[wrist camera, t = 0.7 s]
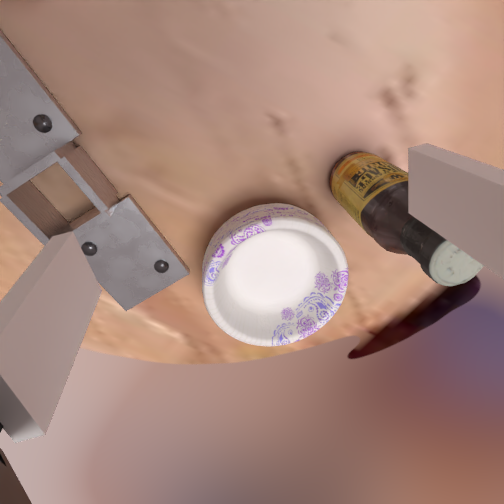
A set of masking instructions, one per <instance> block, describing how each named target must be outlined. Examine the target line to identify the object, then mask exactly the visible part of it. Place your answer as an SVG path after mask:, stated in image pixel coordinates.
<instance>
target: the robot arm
mask: <svg viewBox="0 0 504 504" xmlns="http://www.w3.org/2000/svg"><path fill="white" fill-rule="evenodd" d="M408 213H409V214H411V215H412V216H413V217H415V218H416V219H418V220H419V221H421V222H422V223H423V224H425V225H426V226H428V227H429V228H431V229H432V230H434V231H435V232H436V233H438V234H439V235H441V236H442V237H444V238H445V239H446V240H448V241H449V242H451V243H452V244H454V245H455V246H456V247H458V248H459V249H461V250H462V251H464V252H465V253H466V254H468V255H469V256H471V257H472V258H474V259H475V260H476V261H478V262H479V263H481V264H482V265H484V266H485V267H486V268H488V269H489V270H491V271H492V272H494V273H495V274H497V275H498V276H499V277H501V278H502V279H504V170H503V169H500V168H497V167H494V166H491V165H488V164H486V163H483V162H480V161H477V160H474V159H471V158H468V157H465V156H462V155H460V154H457V153H454V152H451V151H448V150H445V149H442V148H439V147H437V146H434V145H431V144H428V143H427V144H423V145H419V146H415V147H411V148H408ZM101 292H102V290H101V288H100V286H99V284H98V282H97V280H96V278H95V276H94V274H93V271H92V269H91V267H90V265H89V263H88V261H87V259H86V257H85V255H84V253H83V251H82V249H81V247H80V245H79V243H78V241H77V239H76V237H75V235H74V233H73V231H72V232H68V233H64V234H60V235H56V236H52V238H51V239H50V240H49V241H48V243H47V244H46V245H45V246H44V248H43V249H42V250H41V251H40V253H39V254H38V255H37V256H36V258H35V259H34V260H33V262H32V263H31V264H30V265H29V267H28V268H27V269H26V270H25V272H24V273H23V274H22V275H21V277H20V278H19V279H18V280H17V282H16V283H15V284H14V285H13V287H12V288H11V289H10V290H9V292H8V293H7V294H6V295H5V297H4V298H3V299H2V300H1V302H0V432H1V430H2V428H3V429H4V430H5V431H6V432H7V434H8V435H9V436H10V437H11V438H12V440H13V441H14V442H15V443H17V442H21V441H24V440H28V439H32V438H36V437H39V436H43V435H46V432H47V429H48V427H49V424H50V422H51V419H52V417H53V414H54V411H55V409H56V407H57V404H58V401H59V399H60V396H61V394H62V391H63V389H64V386H65V384H66V381H67V379H68V376H69V373H70V371H71V368H72V366H73V363H74V361H75V357H76V355H77V353H78V350H79V348H80V345H81V343H82V340H83V338H84V335H85V333H86V330H87V328H88V325H89V322H90V320H91V317H92V315H93V312H94V310H95V307H96V305H97V302H98V300H99V297H100V294H101ZM0 504H32V503H31V501H30V500H29V498H28V496H27V494H26V492H25V490H24V489H23V487H22V485H21V483H20V481H19V480H18V478H17V476H16V474H15V472H14V471H13V469H12V467H11V465H10V463H9V461H8V460H7V458H6V456H5V454H4V452H3V451H2V450H1V449H0Z"/></svg>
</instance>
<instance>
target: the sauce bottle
mask: <svg viewBox="0 0 504 504" xmlns="http://www.w3.org/2000/svg"><path fill="white" fill-rule="evenodd" d="M330 187H331V190H332V192H333V195H334V197H335V199H336V200H337V201H338V202H339V203H340V205H341V206H342V207H343V208H344V209H345V210H346V211H347V212H348V213H349V214H350V215H351V217H352V218H353V219H354V220H355V221H356V222H357V223H358V224H359V225H360V226H361V227H362V228H363V229H364V230H365V231H366V233H367V234H368V235H370V236H371V237H373V238H374V240H375V241H376V242H377V243H378V244H379V245H380V246H381V247H383V248H384V249H386V250H387V251H390V252H394V253H397V254H408V255H409V256H412V257H413V258H414V259H416V260H417V261H418V262H419V263H420V264H421V268H422V269H423V271H424V272H425V273H426V274H427V275H428V276H429V277H430V278H431V279H432V280H434V281H435V282H436V283H439V284H441V285H445V286H454V285H458V284H461V283H465V282H467V281H468V280H470V279H472V278H473V277H474V276H475V275H476V274H477V273H478V272H479V271H480V270H481V269H482V267H483V266H484V265H482V264H481V263H479V262H478V261H476V260H475V259H474V258H472V257H471V256H469V255H468V254H466V253H465V252H464V251H462V250H461V249H459V248H458V247H456V246H455V245H454V244H452V243H451V242H449V241H448V240H446V239H445V238H444V237H442V236H441V235H439V234H438V233H436V232H435V231H434V230H432V229H431V228H429V227H428V226H426V225H425V224H423V223H422V222H421V221H419V220H418V219H416V218H415V217H413V216H412V215H411V214H409V213H408V173H407V172H405V171H403V170H401V169H400V168H398V167H396V166H394V165H392V164H391V163H389V162H387V161H385V160H383V159H382V158H380V157H378V156H376V155H374V154H371V153H364V152H353V153H351V154H348V155H347V156H345V157H344V158H342V159H341V160H340V161H339V162H337V163H336V165H335V167H334V168H333V171H332V174H331V178H330Z"/></svg>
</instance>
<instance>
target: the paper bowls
mask: <svg viewBox="0 0 504 504" xmlns="http://www.w3.org/2000/svg"><path fill="white" fill-rule="evenodd" d="M347 284H348V264H347V260H346V257H345V254H344V251H343V249H342V248H341V246H340V244H339V243H338V242H337V240H336V239H335V238H334V237H333V236H332V235H331V233H330V232H329V230H328V229H327V228H326V227H325V226H324V225H323V224H322V223H321V222H320V221H319V220H318V219H317V218H316V217H314V216H313V215H312V214H310V213H309V212H307V211H305V210H303V209H301V208H299V207H296V206H294V205H290V204H282V203H271V204H264V205H258V206H254V207H252V208H248V209H247V210H243V211H241V212H240V213H237V214H236V215H234V216H233V217H231V218H230V219H229V220H227V221H226V222H225V223H224V224H223V225H222V226H221V227H220V228H219V229H218V230H217V232H216V233H215V234H214V236H213V237H212V238H211V241H210V242H209V245H208V247H207V249H206V252H205V255H204V259H203V265H202V292H203V298H204V303H205V306H206V309H207V311H208V313H209V315H210V316H211V318H212V319H213V320H214V322H215V323H216V324H217V326H219V327H220V328H221V329H222V330H223V331H224V332H225V333H227V334H228V335H230V336H231V337H233V338H235V339H237V340H239V341H242V342H245V343H248V344H252V345H258V346H280V345H285V344H290V343H293V342H296V341H299V340H301V339H304V338H306V337H308V336H310V335H311V334H313V333H314V332H316V331H317V330H319V329H320V328H321V327H323V326H324V325H325V324H326V323H327V322H328V321H329V320H330V319H331V318H332V317H333V315H334V314H335V313H336V311H337V310H338V308H339V307H340V305H341V303H342V301H343V298H344V296H345V293H346V289H347Z"/></svg>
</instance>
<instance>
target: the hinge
mask: <svg viewBox="0 0 504 504" xmlns="http://www.w3.org/2000/svg"><path fill="white" fill-rule="evenodd" d="M80 134H82V133H81V131H80V130H79V129H78V128H77V126H76V125H75V124H74V123H73V121H72V120H71V119H70V118H69V116H68V115H67V114H66V112H65V111H64V110H63V109H62V107H61V106H60V105H59V104H58V102H57V101H56V100H55V98H54V97H53V96H52V95H51V93H50V92H49V91H48V90H47V88H46V87H45V86H44V85H43V83H42V82H41V81H40V79H39V78H38V77H37V76H36V74H35V73H34V72H33V71H32V69H31V68H30V67H29V66H28V64H27V63H26V62H25V60H24V59H23V58H22V57H21V55H20V54H19V53H18V52H17V50H16V49H15V48H14V46H13V45H12V44H11V43H10V41H9V40H8V39H7V38H6V36H5V35H4V34H3V33H2V31H1V30H0V181H1V182H2V183H3V184H4V185H2V186H1V187H0V195H1V196H2V198H1V199H0V201H1V202H2V203H3V204H4V205H5V206H6V207H7V208H8V209H9V210H10V211H11V212H12V213H13V214H14V215H15V216H16V217H17V218H18V219H19V220H20V221H21V222H22V223H23V225H24V226H25V227H26V228H27V229H28V230H29V231H30V232H31V233H32V234H33V235H34V236H35V237H36V238H37V239H38V240H39V241H40V242H41V243H42V244H43V245H44V246H45V245H46V244H47V243H48V241H49V240H50V239H51V238H52V236H56V235H60V234H64V233H68V232H72V231H73V233H74V235H75V237H76V239H77V241H78V243H79V245H80V247H81V249H82V251H83V253H84V255H85V257H86V259H87V261H88V263H89V265H90V267H91V269H92V271H93V274H94V276H95V278H96V280H97V281H98V283H99V284H100V285H101V286H102V287H103V288H104V289H105V290H106V291H107V292H108V293H109V294H110V295H111V296H112V297H113V298H114V299H115V300H116V301H117V302H118V303H119V304H120V305H121V306H122V307H123V308H124V310H125V311H127V310H129V309H130V308H132V307H134V306H135V305H137V304H139V303H141V302H142V301H144V300H146V299H147V298H149V297H151V296H152V295H154V294H156V293H158V292H159V291H161V290H163V289H164V288H166V287H168V286H169V285H171V284H173V283H175V282H176V281H178V280H180V279H181V278H183V277H185V276H186V275H188V274H189V268H188V267H187V266H186V265H185V263H184V262H183V261H182V260H181V258H180V257H179V256H178V254H177V253H176V252H175V251H174V249H173V248H172V247H171V246H170V244H169V243H168V242H167V241H166V239H165V238H164V237H163V235H162V234H161V233H160V232H159V230H158V229H157V228H156V227H155V225H154V224H153V223H152V221H151V220H150V219H149V218H148V216H147V215H146V214H145V213H144V211H143V210H142V209H141V208H140V206H139V205H138V204H137V202H136V201H135V200H134V199H133V197H132V196H131V195H130V194H129V195H128V196H126V197H125V198H123V199H121V200H119V199H118V198H117V196H116V195H117V193H118V192H117V191H116V189H115V188H114V187H113V186H112V184H111V183H110V182H109V181H108V179H107V178H106V177H105V176H104V174H103V173H102V172H101V171H100V169H99V168H98V167H97V166H96V164H95V163H94V162H93V161H92V159H91V158H90V157H89V156H88V154H87V153H86V152H85V151H84V150H83V148H82V147H81V146H79V147H76V146H75V145H74V143H73V142H72V141H71V140H73V139H74V138H76V137H77V136H79V135H80ZM55 162H58V163H59V164H60V166H61V167H62V168H63V169H64V170H65V171H66V173H67V174H68V175H69V176H70V177H71V178H72V180H73V181H74V182H75V183H76V184H77V185H78V187H79V188H80V189H81V190H82V191H83V192H84V194H85V195H86V196H87V197H88V198H89V199H90V201H91V202H92V203H93V204H94V205H95V206H96V207H94V208H93V209H91V210H89V211H88V212H86V213H85V214H83V215H81V216H80V217H78V218H77V219H75V220H74V221H72V222H70V223H68V222H67V221H66V220H65V219H64V218H63V217H62V215H61V214H60V213H59V212H58V211H57V210H56V209H55V208H54V207H53V206H52V205H51V203H50V202H49V201H48V200H47V199H46V198H45V197H44V196H43V195H42V194H41V193H40V192H39V190H38V189H37V188H36V187H35V186H34V185H33V184H32V183H31V182H30V181H29V180H30V179H31V178H33V177H34V176H36V175H37V174H39V173H40V172H42V171H43V170H45V169H46V168H48V167H49V166H51V165H52V164H54V163H55Z"/></svg>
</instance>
